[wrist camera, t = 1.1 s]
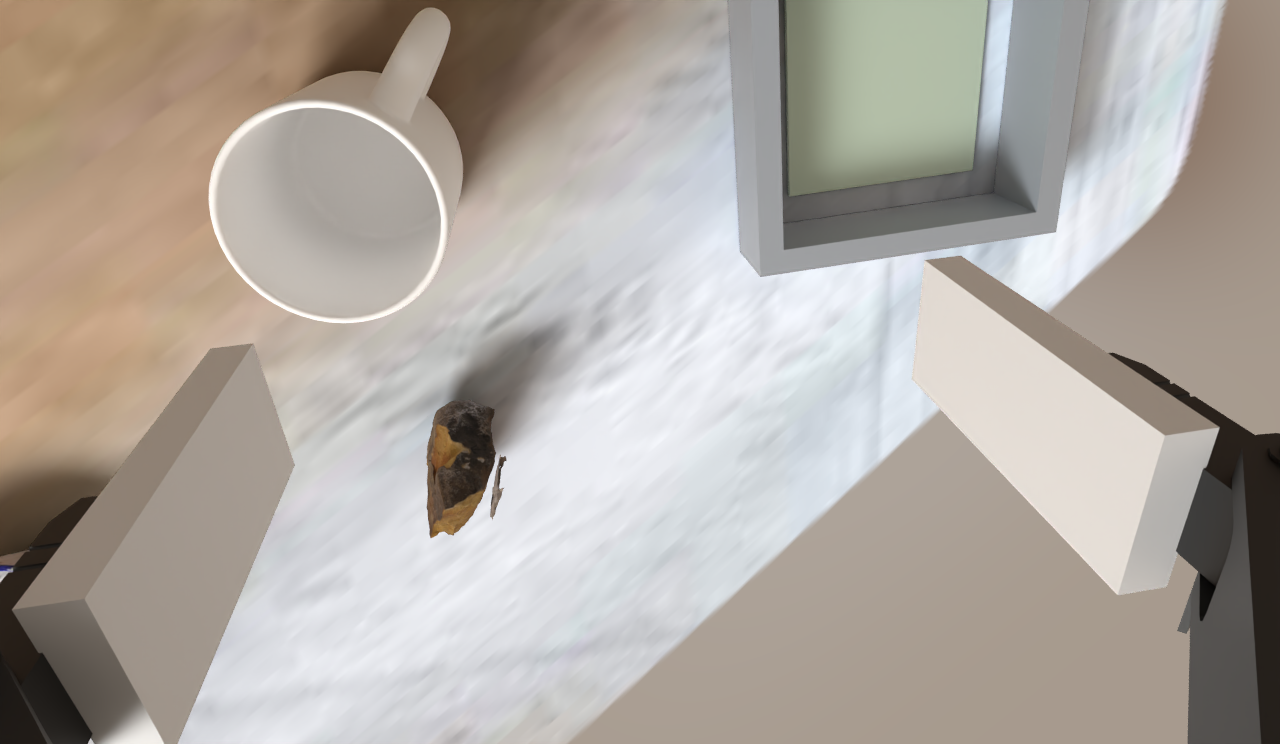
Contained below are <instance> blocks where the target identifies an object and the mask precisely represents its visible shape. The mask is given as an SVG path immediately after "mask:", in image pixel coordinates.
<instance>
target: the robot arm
mask: <svg viewBox="0 0 1280 744" xmlns="http://www.w3.org/2000/svg"><path fill="white" fill-rule="evenodd" d="M912 380H913V381H914V382H915V383H916V384H917V385H918V386H919V387H920V388H921V389H922V390H923V391H924V393H925V394H926V395H927V396H928V397H929V398H930V399H931V400H932V401H933V402H934V403H935V404H936V405H937V406H938V407H939V408H940V409H941V410H942V411H943V412H944V413H945V415H947V417H948V418H949V419H950V420H951V421H952V422H953V423H954V424H955V425H956V426H957V427H958V428H959V429H960V430H961V431H962V432H963V433H964V434H965V435H966V437H967V438H968V439H969V440H970V441H971V442H972V443H973V444H974V445H975V446H976V447H977V448H978V449H979V450H980V451H981V452H982V453H983V454H984V455H985V456H986V458H987V459H988V460H989V461H990V462H991V463H992V464H993V465H994V466H995V467H996V468H997V469H998V470H999V471H1000V472H1001V473H1002V474H1003V475H1004V476H1005V477H1006V479H1008V481H1009V482H1010V483H1011V484H1012V485H1013V486H1014V487H1015V488H1016V489H1017V490H1018V491H1019V492H1020V493H1021V494H1022V495H1023V496H1024V497H1025V498H1026V499H1027V501H1028V502H1029V503H1030V504H1031V505H1032V506H1033V507H1034V508H1035V509H1036V510H1037V511H1038V512H1039V513H1040V514H1041V515H1042V516H1043V517H1044V518H1045V519H1046V520H1047V522H1048V523H1049V524H1050V525H1051V526H1052V527H1053V528H1054V529H1055V530H1056V531H1057V532H1058V533H1059V534H1060V535H1061V536H1062V537H1063V538H1064V539H1065V540H1066V541H1067V542H1068V544H1069V545H1070V546H1071V547H1072V548H1073V549H1074V550H1075V551H1076V552H1077V553H1078V554H1079V555H1080V556H1081V557H1082V558H1083V559H1084V560H1085V561H1086V562H1087V563H1088V565H1090V567H1092V569H1094V571H1095V572H1096V573H1097V574H1098V575H1099V576H1100V577H1101V578H1102V579H1103V580H1104V581H1105V582H1106V583H1107V584H1108V585H1109V586H1110V588H1111V589H1112V590H1113V591H1114V592H1115V593H1116V594H1117V595H1122V594H1127V593H1134V592H1140V591H1145V590H1151V589H1157V588H1163V587H1167V584H1168V581H1169V578H1170V575H1171V572H1172V569H1173V566H1174V563H1175V560H1176V557H1177V554H1179V555H1180V556H1182V557H1183V558H1184V559H1185V560H1186V561H1187V562H1188V563H1189V564H1191V565H1192V566H1193V567H1194V568H1195V569H1196V570H1197V571H1198V574H1197V577H1196V579H1195V582H1194V585H1193V588H1192V591H1191V594H1190V597H1189V599H1188V602H1187V605H1186V608H1185V611H1184V613H1183V616H1182V619H1181V622H1180V625H1179V627H1178V631H1180V632H1183V633H1187V631H1188V629H1189V628H1190V664H1189V707H1188V709H1189V711H1188V744H1280V434H1279V433H1274V434H1260V435H1254V434H1252V433H1251V432H1249V431H1248V430H1246V429H1245V428H1243V427H1241V426H1240V425H1238V424H1237V423H1235V422H1233V421H1232V420H1231V419H1229V418H1227V417H1226V416H1224V415H1223V414H1221V413H1220V412H1218V411H1217V410H1215V409H1213V408H1212V407H1210V406H1209V405H1207V404H1206V403H1204V402H1203V401H1201V400H1199V399H1198V398H1196V397H1190V395H1189V393H1188V392H1187V391H1185V390H1184V389H1182V388H1181V387H1179V386H1177V385H1176V384H1170V380H1168V379H1167V378H1165V377H1164V376H1162V375H1160V374H1159V373H1157V372H1156V371H1154V370H1153V369H1151V368H1149V367H1148V366H1146V365H1144V364H1142V363H1139V362H1136V361H1133V360H1131V359H1128V358H1125V357H1123V356H1120V355H1118V354H1115V353H1106V352H1105V351H1104V350H1102V349H1100V348H1099V347H1098V346H1096V345H1095V344H1093V343H1092V342H1090V341H1089V340H1087V339H1086V338H1084V337H1082V336H1081V335H1079V334H1078V333H1076V332H1075V331H1073V330H1072V329H1070V328H1069V327H1067V326H1066V325H1064V324H1063V323H1061V322H1060V321H1058V320H1057V319H1055V318H1054V317H1052V316H1051V315H1049V314H1048V313H1046V312H1045V311H1043V310H1042V309H1040V308H1039V307H1037V306H1036V305H1034V304H1033V303H1031V302H1030V301H1028V300H1027V299H1025V298H1024V297H1022V296H1021V295H1019V294H1018V293H1016V292H1015V291H1013V290H1012V289H1010V288H1009V287H1007V286H1005V285H1004V284H1002V283H1001V282H999V281H998V280H996V279H995V278H993V277H992V276H990V275H989V274H987V273H986V272H984V271H983V270H981V269H980V268H978V267H977V266H975V265H974V264H972V263H971V262H969V261H968V260H966V259H965V258H963V257H962V256H955V257H947V258H939V259H931V260H925V262H924V271H923V281H922V290H921V299H920V308H919V318H918V327H917V336H916V346H915V355H914V364H913V373H912ZM294 466H295V464H294V461H293V458H292V456H291V453H290V450H289V447H288V444H287V441H286V438H285V435H284V432H283V429H282V426H281V423H280V420H279V418H278V415H277V412H276V409H275V406H274V403H273V400H272V397H271V394H270V391H269V388H268V385H267V382H266V380H265V377H264V374H263V371H262V368H261V365H260V362H259V359H258V356H257V353H256V350H255V347H254V344H245V345H237V346H229V347H221V348H213V349H210V350H209V351H208V353H207V354H206V355H205V357H204V358H203V359H202V361H201V362H200V363H199V364H198V366H197V367H196V368H195V370H194V371H193V372H192V374H191V375H190V376H189V378H188V379H187V380H186V382H185V383H184V384H183V386H182V387H181V388H180V389H179V391H178V392H177V393H176V395H175V396H174V397H173V399H172V400H171V401H170V403H169V404H168V405H167V407H166V408H165V409H164V410H163V412H162V413H161V414H160V416H159V417H158V418H157V420H156V421H155V422H154V424H153V425H152V426H151V428H150V429H149V430H148V432H147V433H146V434H145V435H144V437H143V438H142V439H141V441H140V442H139V443H138V445H137V446H136V447H135V449H134V450H133V451H132V453H131V454H130V455H129V456H128V458H127V459H126V460H125V462H124V463H123V464H122V466H121V467H120V468H119V470H118V471H117V472H116V474H115V475H114V476H113V477H112V479H111V480H110V481H109V483H108V484H107V485H106V487H105V488H104V489H103V491H102V492H101V493H100V495H99V496H96V497H88V498H81V499H80V500H79V501H77V502H76V503H74V504H73V505H72V506H70V507H69V508H68V509H66V510H65V511H64V512H62V513H61V514H60V515H58V516H57V517H55V518H54V519H53V520H51V521H50V522H49V523H48V524H47V526H46V527H45V528H44V529H43V530H42V532H41V533H40V534H39V535H38V537H37V538H36V539H35V540H34V542H33V543H32V544H31V545H30V546H29V548H30V551H27V552H25V553H24V554H23V555H22V556H21V558H20V559H19V560H18V561H17V562H16V564H15V565H14V566H13V567H12V568H13V572H9V573H8V574H7V575H6V576H5V577H4V578H3V580H2V581H1V582H0V744H88V742H89V740H90V738H91V739H92V740H93V742H94V744H177V743H178V741H179V739H180V736H181V734H182V731H183V729H184V727H185V724H186V722H187V720H188V717H189V715H190V712H191V710H192V708H193V705H194V703H195V701H196V698H197V696H198V693H199V691H200V689H201V686H202V684H203V682H204V679H205V677H206V675H207V672H208V670H209V667H210V665H211V663H212V660H213V658H214V656H215V653H216V651H217V648H218V646H219V644H220V641H221V639H222V637H223V634H224V632H225V629H226V627H227V625H228V622H229V620H230V618H231V615H232V613H233V610H234V608H235V606H236V603H237V601H238V599H239V596H240V594H241V591H242V589H243V587H244V584H245V582H246V580H247V577H248V575H249V572H250V570H251V568H252V565H253V563H254V561H255V558H256V556H257V553H258V551H259V549H260V546H261V544H262V542H263V539H264V537H265V534H266V532H267V530H268V527H269V525H270V523H271V520H272V518H273V515H274V513H275V511H276V508H277V506H278V504H279V501H280V499H281V496H282V494H283V492H284V489H285V487H286V485H287V482H288V480H289V477H290V475H291V473H292V470H293V468H294Z"/></svg>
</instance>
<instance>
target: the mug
mask: <svg viewBox="0 0 1280 744" xmlns="http://www.w3.org/2000/svg"><path fill="white" fill-rule="evenodd" d="M450 30H451V28H450V21H449V20H448V18H447V16H446V15H445V14H444V13H443V12H442V11H441V10H439V9H436V8H433V7H432V8H425V9H423V10H421V11H420V12H418V13H417V15H416V16H415V17H414V18H413V20H412V21H411V23H410V24H409V25H408V27H407V29H406V30H405V32H404V33H403V35H402V37H401V38H400V40H399V42H398V44H397V46H396V47H395V49H394V51H393V53H392V55H391V57H390V59H389V61H388V62H387V64H386V66H385V68H384V70H383V72H382V73H378V72H370V71H349V72H343V73H338V74H334V75H331V76H328V77H325V78H323V79H321V80H319V81H317V82H315V83H313V84H311V85H309V86H307V87H305V88H303V89H301V90H299V91H297V92H296V93H294V94H292V95H290V96H288V97H286V98H284V99H282V100H280V101H278V102H277V103H275V104H273V105H271V106H269V107H267V108H265V109H263V110H261V111H259V112H257V113H256V114H254V115H253V116H251V117H250V118H248V119H247V120H246V121H244V122H243V123H242V124H241V125H240V126H239V127H238V128H237V129H236V130H235V131H234V132H233V133H232V134H231V135H230V136H229V138H228V139H227V140H226V142H225V143H224V144H223V146H222V148H221V150H220V152H219V154H218V156H217V158H216V160H215V163H214V166H213V169H212V173H211V179H210V184H209V207H210V215H211V220H212V223H213V227H214V231H215V234H216V236H217V239H218V241H219V243H220V246H221V248H222V249H223V251H224V253H225V255H226V257H227V258H228V260H229V261H230V263H231V264H232V265H233V267H234V268H235V270H236V271H237V272H238V273H239V274H240V275H241V277H242V278H243V279H244V280H245V281H246V282H247V283H248V284H249V285H250V286H251V287H253V288H254V289H255V290H256V291H257V292H258V293H260V294H261V295H262V296H264V297H265V298H267V299H268V300H270V301H271V302H273V303H274V304H276V305H278V306H280V307H282V308H284V309H286V310H288V311H290V312H293V313H295V314H298V315H300V316H304V317H307V318H311V319H314V320H319V321H325V322H334V323H354V322H363V321H368V320H373V319H377V318H380V317H383V316H386V315H389V314H391V313H393V312H395V311H397V310H399V309H401V308H403V307H404V306H406V305H407V304H409V303H410V302H412V301H413V300H414V299H415V298H416V297H418V296H419V295H420V294H421V293H422V292H423V291H424V290H425V289H426V287H427V286H428V285H429V284H430V283H431V281H432V280H433V278H434V277H435V275H436V274H437V272H438V270H439V268H440V265H441V263H442V261H443V258H444V255H445V252H446V248H447V245H448V241H449V237H450V233H451V229H452V225H453V221H454V217H455V213H456V209H457V206H458V202H459V198H460V194H461V188H462V182H463V161H462V154H461V150H460V145H459V142H458V139H457V137H456V134H455V132H454V130H453V128H452V126H451V124H450V122H449V121H448V119H447V118H446V116H445V115H444V114H443V112H442V111H441V110H440V108H439V107H438V106H437V105H436V104H435V103H434V102H433V101H432V100H431V99H430V98H429V97H428V96H427V92H428V90H429V88H430V85H431V83H432V81H433V78H434V76H435V74H436V71H437V69H438V66H439V64H440V61H441V59H442V56H443V54H444V51H445V48H446V45H447V42H448V39H449V35H450Z"/></svg>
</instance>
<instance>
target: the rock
mask: <svg viewBox="0 0 1280 744" xmlns="http://www.w3.org/2000/svg"><path fill="white" fill-rule="evenodd" d="M494 413H495V410H494V409H492V408H490V407H486V406H481V405H479V404H477V403H475V402H473V401H471V400H467V401H464V400H460V401H452V402H449V403H448V404H447V405H445V406H444V407H442V408H440V409H439V410H437V412H436V414H435V417H434V420H433V427H432V431H431V436H430V439H429V442H428V447H427V466H428V478H427V485H428V502H427V510H428V521H429V527H430V537H431V538H432V537H434V536H436V535H437V534H438V533H439V532H444V531H445V532H446V533H447V534H451V535H454V533H456V532H457V531H459V530H460V528H461V527H462V526H464V525H465V523H466V522H467V521H468V520H469V518H470V517H471V516H472V515H473V513H474V511H475V509H476V508H477V505H478V504H479V503H480V501H481V499H482V497H483V493H484V492H485V489H486V486H487V482H488V479H489V476H490V473H491V471H492V469H493V466H494V462H495V454H496V452H495V450H494V446H493V441H492V433H491V421H492V418H493V416H494ZM504 461H506V457H501V455H500V458H499V464H498V466H497V470H496V476H495V482H494V487H493V494H492V500H491V513H490V517H492V519H493V516H494V515H495V510H496V507H497V505H498V502H499V500H500V498H501V495H502V491H503V489H504V488H502V489H500V490H499V484H500V476H501V468H502V467H503V463H504ZM500 466H501V467H500ZM499 467H500V469H499Z"/></svg>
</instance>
